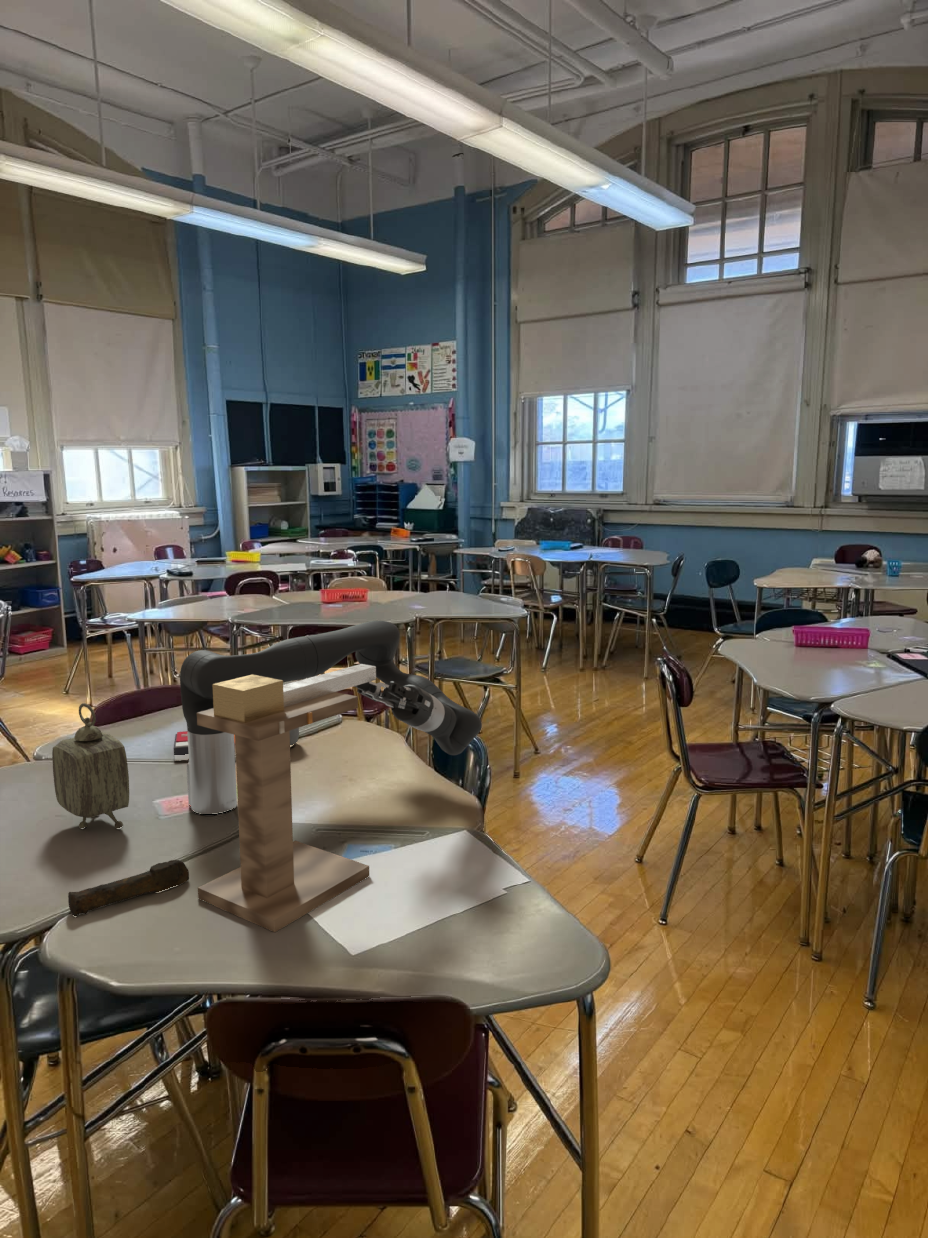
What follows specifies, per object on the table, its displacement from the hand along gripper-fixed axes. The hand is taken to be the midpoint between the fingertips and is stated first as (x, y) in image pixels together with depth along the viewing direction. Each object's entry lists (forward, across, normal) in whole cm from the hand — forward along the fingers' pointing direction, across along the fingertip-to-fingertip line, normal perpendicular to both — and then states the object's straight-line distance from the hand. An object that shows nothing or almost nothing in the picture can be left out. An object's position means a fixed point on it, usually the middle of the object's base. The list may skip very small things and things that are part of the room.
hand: (372, 683), depth 155 cm
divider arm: (+16, 0, +8) cm, 17 cm away
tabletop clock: (+8, -50, +40) cm, 65 cm away
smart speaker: (-41, -57, +12) cm, 71 cm away
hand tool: (+19, -19, +47) cm, 54 cm away
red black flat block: (-29, -72, +20) cm, 80 cm away
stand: (+4, 0, +38) cm, 39 cm away
